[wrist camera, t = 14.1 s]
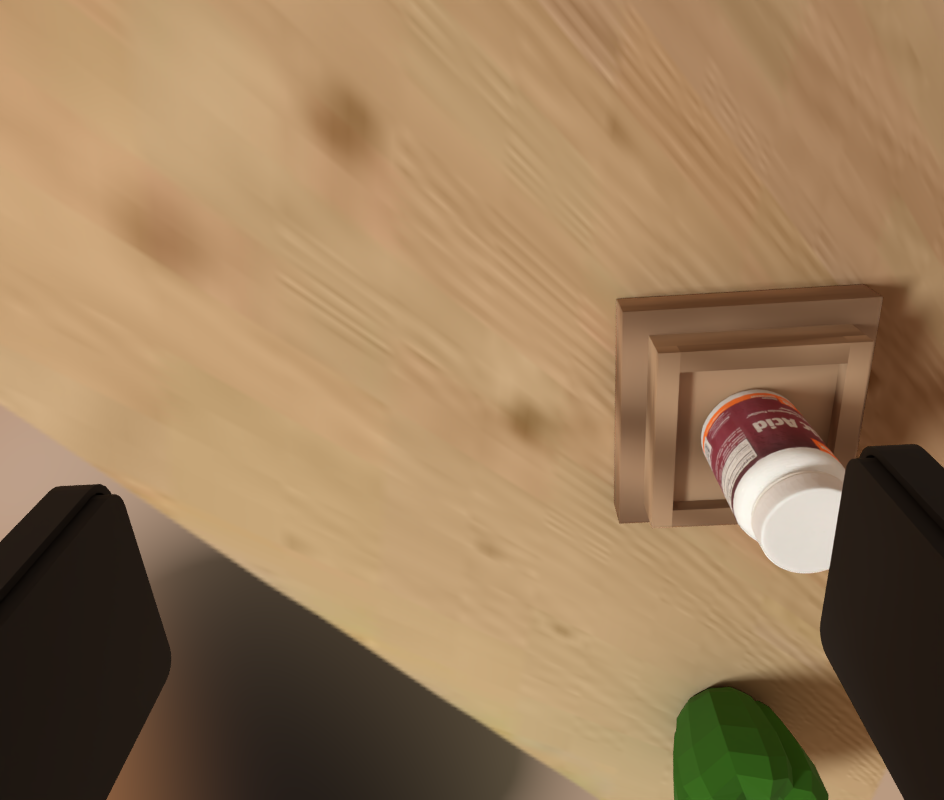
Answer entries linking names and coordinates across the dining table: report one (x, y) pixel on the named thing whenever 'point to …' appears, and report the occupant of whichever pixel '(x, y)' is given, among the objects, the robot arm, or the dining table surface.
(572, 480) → the dining table surface
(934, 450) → the dining table surface
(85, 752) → the robot arm
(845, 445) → the plinth
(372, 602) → the dining table surface
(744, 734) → the bell pepper
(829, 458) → the pill bottle
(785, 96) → the dining table surface
